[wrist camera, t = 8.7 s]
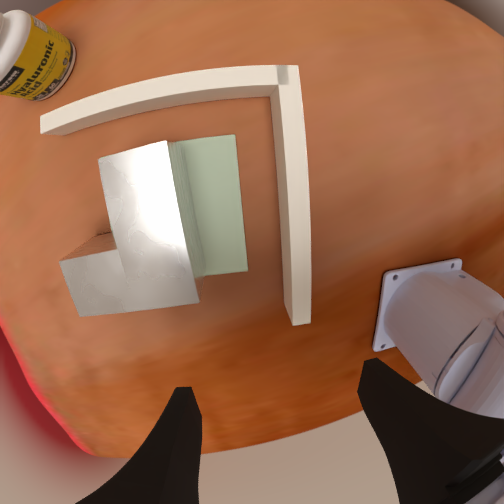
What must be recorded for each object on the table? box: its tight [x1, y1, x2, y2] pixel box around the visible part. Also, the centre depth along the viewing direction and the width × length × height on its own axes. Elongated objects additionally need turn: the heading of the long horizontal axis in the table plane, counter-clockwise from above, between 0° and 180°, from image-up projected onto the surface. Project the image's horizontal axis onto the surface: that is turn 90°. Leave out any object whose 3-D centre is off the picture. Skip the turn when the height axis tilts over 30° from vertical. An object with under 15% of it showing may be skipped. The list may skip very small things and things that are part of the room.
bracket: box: [59, 140, 206, 317], centre depth 15 cm, size 8×8×5 cm
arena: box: [40, 65, 311, 326], centre depth 16 cm, size 16×16×3 cm
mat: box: [100, 134, 248, 276], centre depth 17 cm, size 9×9×1 cm
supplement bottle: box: [0, 10, 76, 101], centre depth 8 cm, size 5×5×10 cm
